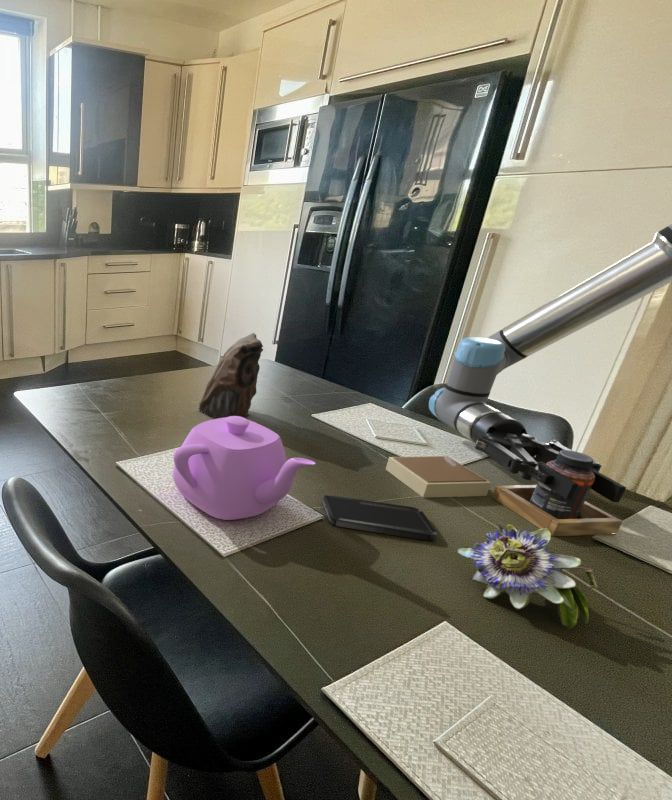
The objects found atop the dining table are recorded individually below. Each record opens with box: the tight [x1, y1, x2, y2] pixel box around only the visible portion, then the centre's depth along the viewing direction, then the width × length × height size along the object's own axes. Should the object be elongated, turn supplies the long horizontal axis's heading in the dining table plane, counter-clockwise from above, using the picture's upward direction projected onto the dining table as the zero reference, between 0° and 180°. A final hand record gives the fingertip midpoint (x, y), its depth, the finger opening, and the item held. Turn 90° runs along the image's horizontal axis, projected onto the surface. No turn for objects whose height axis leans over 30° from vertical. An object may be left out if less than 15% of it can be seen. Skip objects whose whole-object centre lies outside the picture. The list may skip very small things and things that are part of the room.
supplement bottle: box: [529, 450, 595, 519], centre depth 80 cm, size 6×6×11 cm
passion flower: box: [456, 522, 598, 629], centre depth 63 cm, size 11×11×12 cm
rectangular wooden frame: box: [491, 484, 623, 537], centre depth 81 cm, size 11×11×2 cm
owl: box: [198, 332, 264, 419], centre depth 115 cm, size 13×13×20 cm
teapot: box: [172, 416, 316, 521], centre depth 79 cm, size 23×21×15 cm
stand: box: [385, 455, 492, 499], centre depth 90 cm, size 12×10×3 cm
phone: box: [321, 494, 438, 542], centre depth 79 cm, size 8×1×15 cm
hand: (595, 493), depth 74 cm, fingers closed on supplement bottle, 6 cm apart
